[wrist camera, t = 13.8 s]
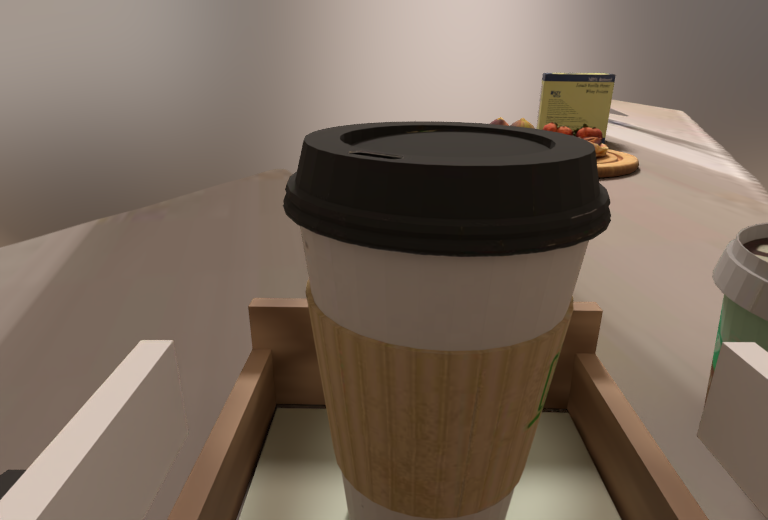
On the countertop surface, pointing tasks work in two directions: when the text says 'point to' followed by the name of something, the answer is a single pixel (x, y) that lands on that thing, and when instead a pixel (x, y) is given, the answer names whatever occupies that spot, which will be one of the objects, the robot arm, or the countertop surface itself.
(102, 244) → the countertop surface
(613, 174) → the wooden plate with food
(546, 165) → the coffee cup
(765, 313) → the food container
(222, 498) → the wooden frame with crossbars
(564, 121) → the protein box
